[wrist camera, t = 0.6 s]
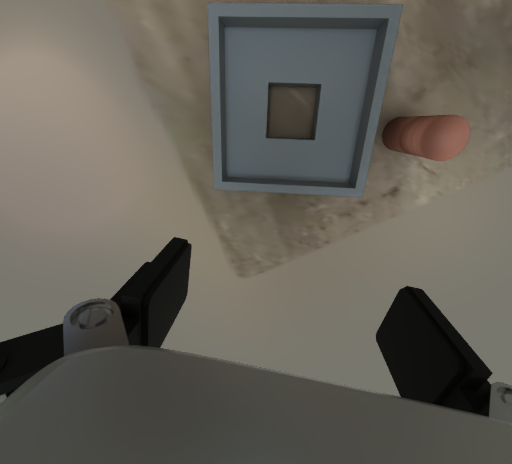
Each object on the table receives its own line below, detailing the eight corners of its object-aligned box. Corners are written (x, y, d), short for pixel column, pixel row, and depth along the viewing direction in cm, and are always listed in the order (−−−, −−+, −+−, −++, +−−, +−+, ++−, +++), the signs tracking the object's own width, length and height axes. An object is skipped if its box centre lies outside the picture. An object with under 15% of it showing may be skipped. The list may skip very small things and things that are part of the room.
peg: (419, 117, 31) (477, 115, 22) (410, 150, 33) (460, 161, 24) (386, 116, 32) (430, 113, 22) (379, 149, 33) (417, 159, 24)
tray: (378, 27, 28) (403, 4, 23) (349, 185, 35) (362, 197, 30) (220, 25, 29) (207, 2, 24) (223, 179, 36) (214, 189, 31)
